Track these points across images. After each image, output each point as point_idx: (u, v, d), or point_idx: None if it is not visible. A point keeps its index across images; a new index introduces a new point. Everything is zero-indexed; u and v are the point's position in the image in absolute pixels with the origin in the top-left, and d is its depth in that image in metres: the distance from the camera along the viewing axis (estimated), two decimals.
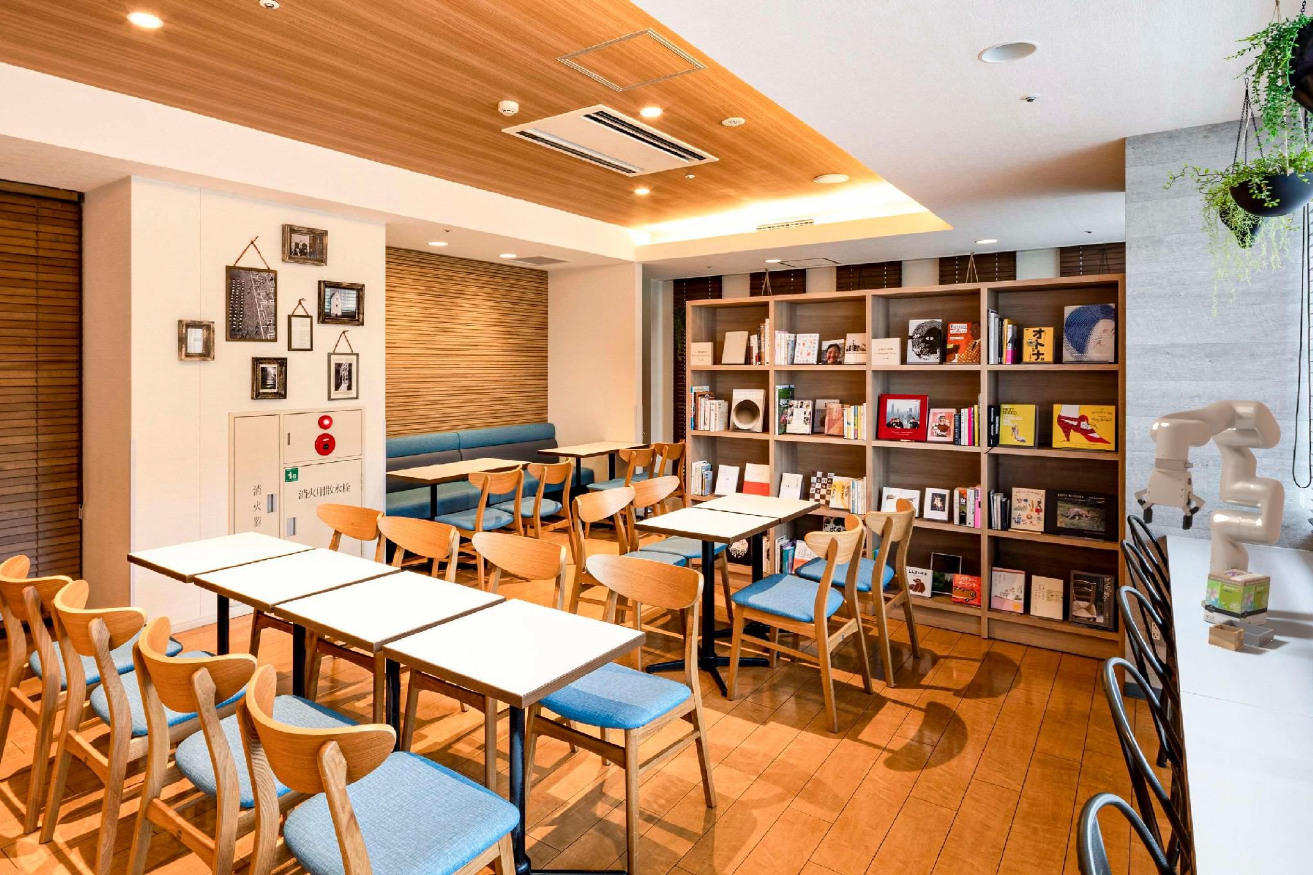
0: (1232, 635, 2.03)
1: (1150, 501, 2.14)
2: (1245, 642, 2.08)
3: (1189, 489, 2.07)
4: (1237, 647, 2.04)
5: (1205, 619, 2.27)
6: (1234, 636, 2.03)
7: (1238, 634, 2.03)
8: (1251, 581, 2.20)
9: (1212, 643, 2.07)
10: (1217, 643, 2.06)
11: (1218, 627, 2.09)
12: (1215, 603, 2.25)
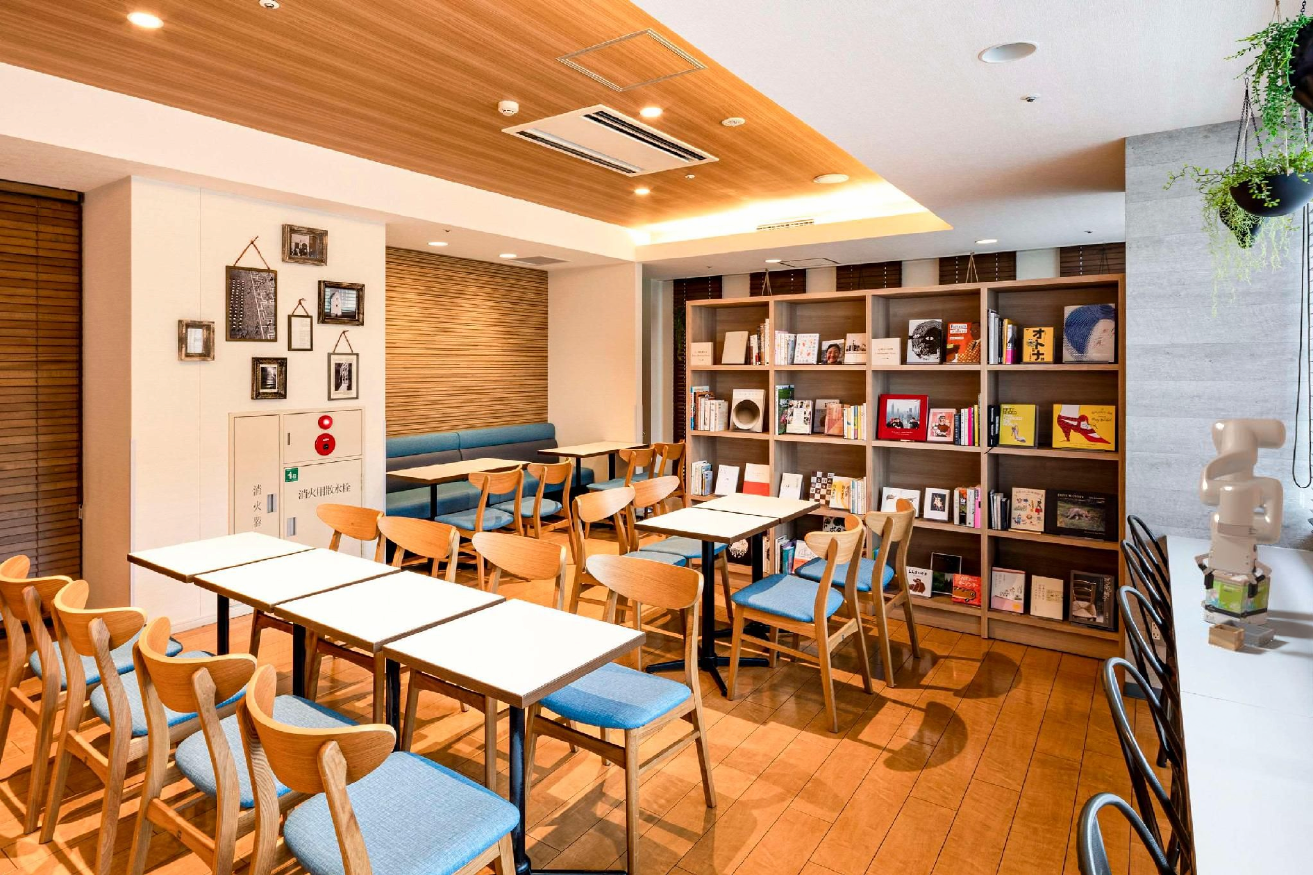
0: (1232, 635, 2.03)
1: (1212, 567, 2.07)
2: (1245, 642, 2.08)
3: (1254, 556, 2.00)
4: (1237, 647, 2.04)
5: (1205, 619, 2.27)
6: (1234, 636, 2.03)
7: (1238, 634, 2.03)
8: None
9: (1212, 643, 2.07)
10: (1217, 643, 2.06)
11: (1218, 627, 2.09)
12: (1215, 603, 2.25)
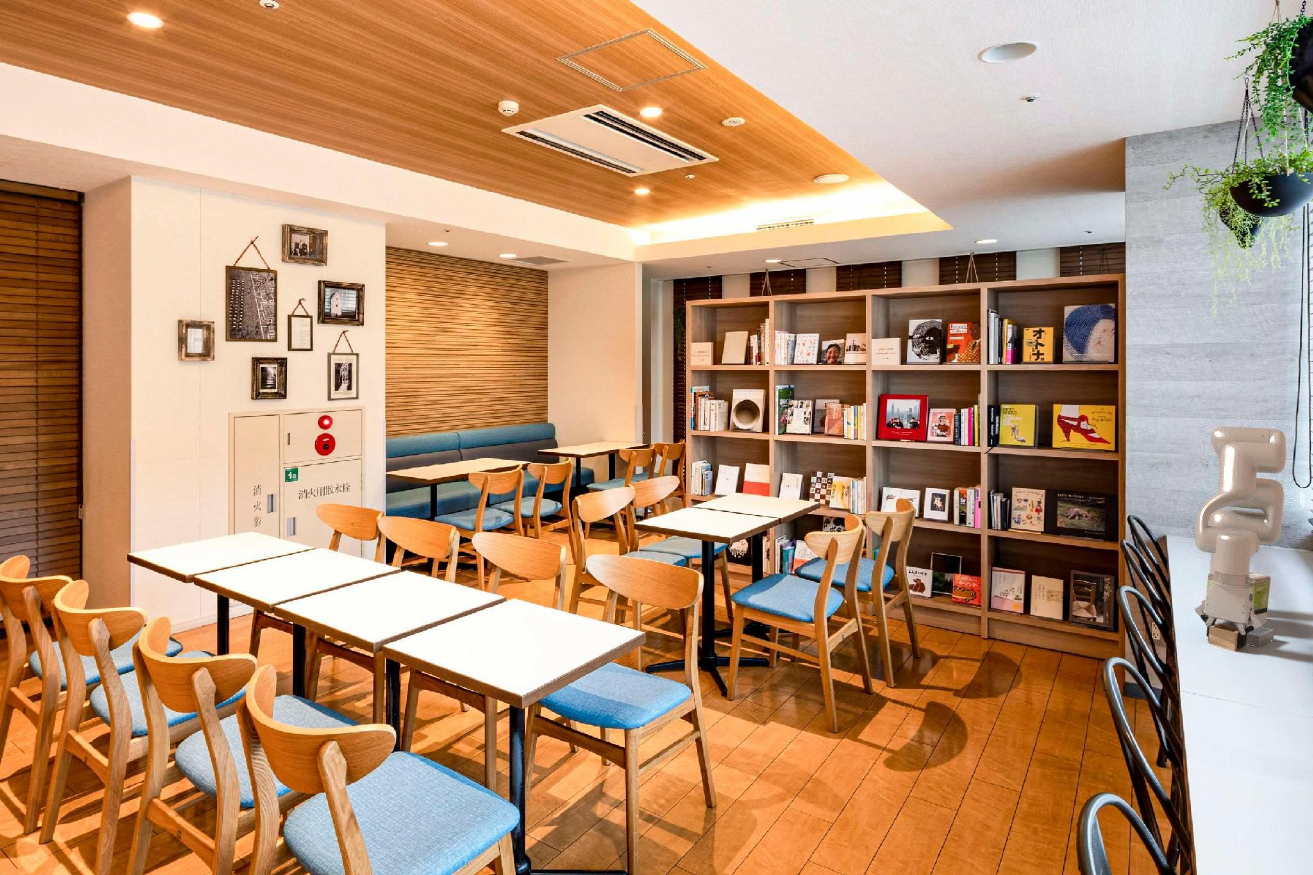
0: (1232, 635, 2.03)
1: (1208, 614, 2.08)
2: None
3: (1250, 605, 2.02)
4: None
5: None
6: (1234, 636, 2.02)
7: None
8: None
9: (1212, 643, 2.07)
10: (1217, 643, 2.06)
11: (1218, 627, 2.09)
12: None
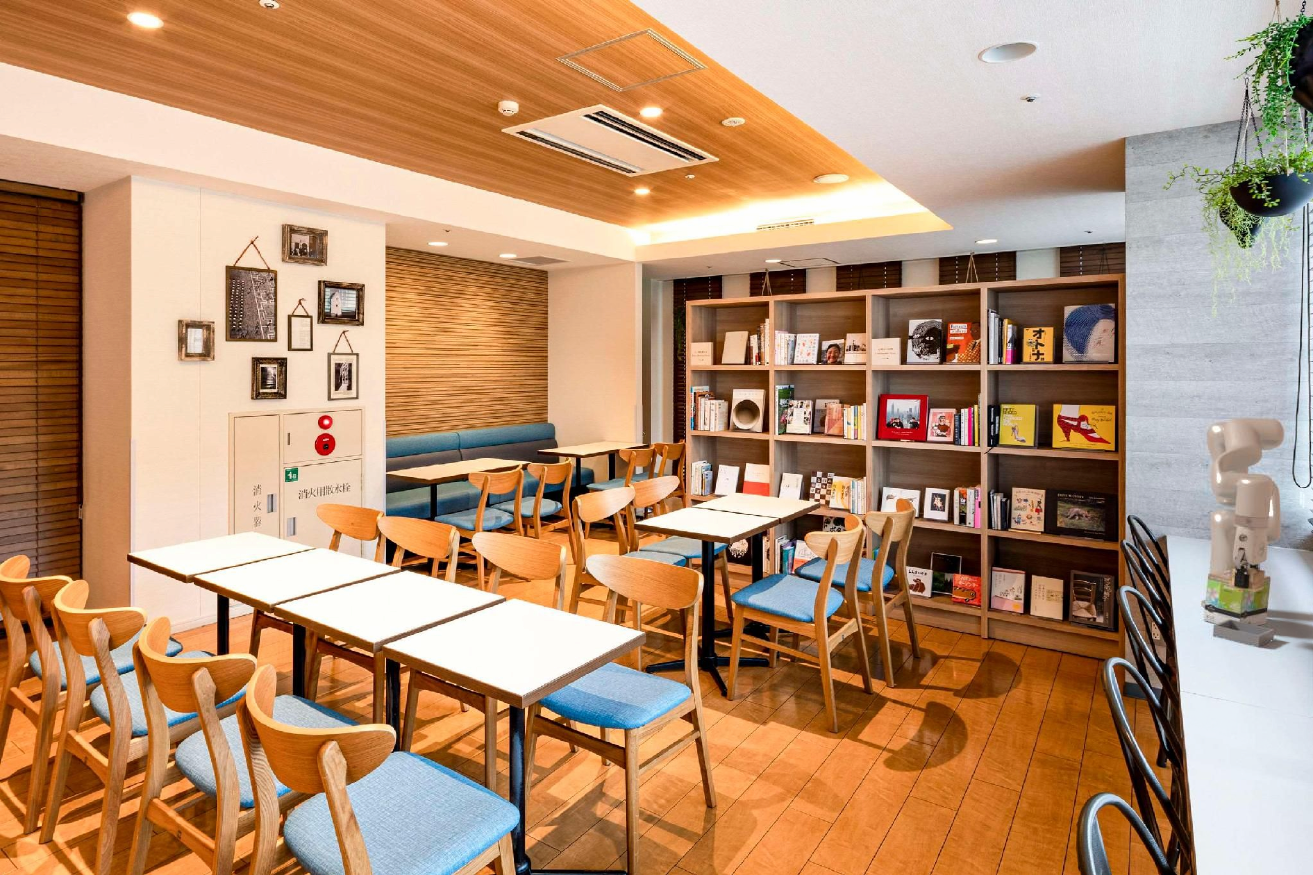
0: None
1: None
2: (1245, 642, 2.08)
3: (1241, 545, 2.08)
4: None
5: (1205, 619, 2.27)
6: (1230, 572, 2.13)
7: None
8: None
9: None
10: None
11: (1256, 572, 2.12)
12: (1215, 603, 2.25)
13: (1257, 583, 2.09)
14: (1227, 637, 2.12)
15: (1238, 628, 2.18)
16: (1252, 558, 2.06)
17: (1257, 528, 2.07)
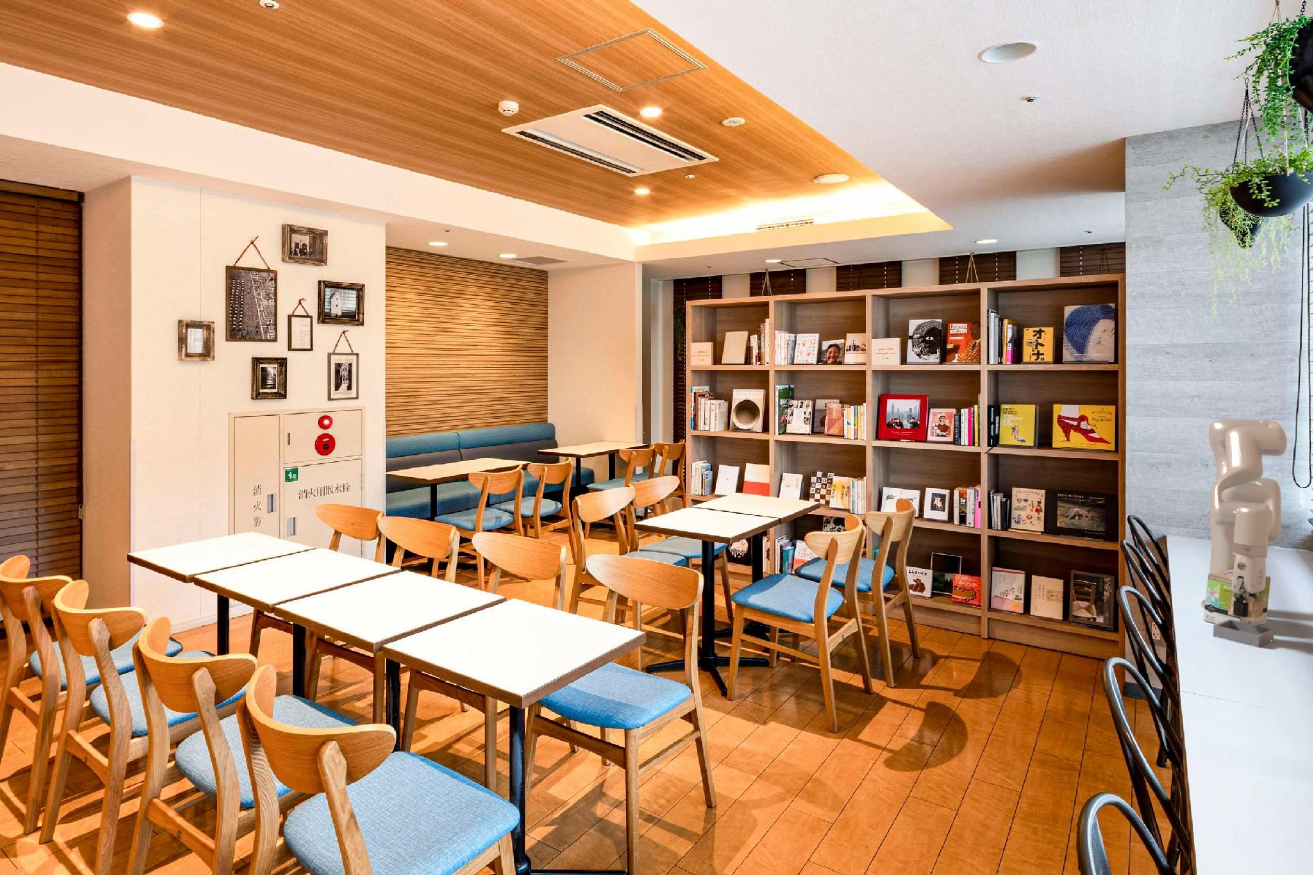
0: None
1: None
2: (1245, 642, 2.08)
3: (1240, 573, 2.09)
4: None
5: (1205, 619, 2.27)
6: (1229, 600, 2.13)
7: None
8: None
9: None
10: None
11: (1255, 600, 2.12)
12: (1215, 603, 2.25)
13: (1256, 611, 2.09)
14: (1227, 637, 2.12)
15: (1238, 628, 2.18)
16: (1251, 586, 2.07)
17: (1256, 557, 2.08)
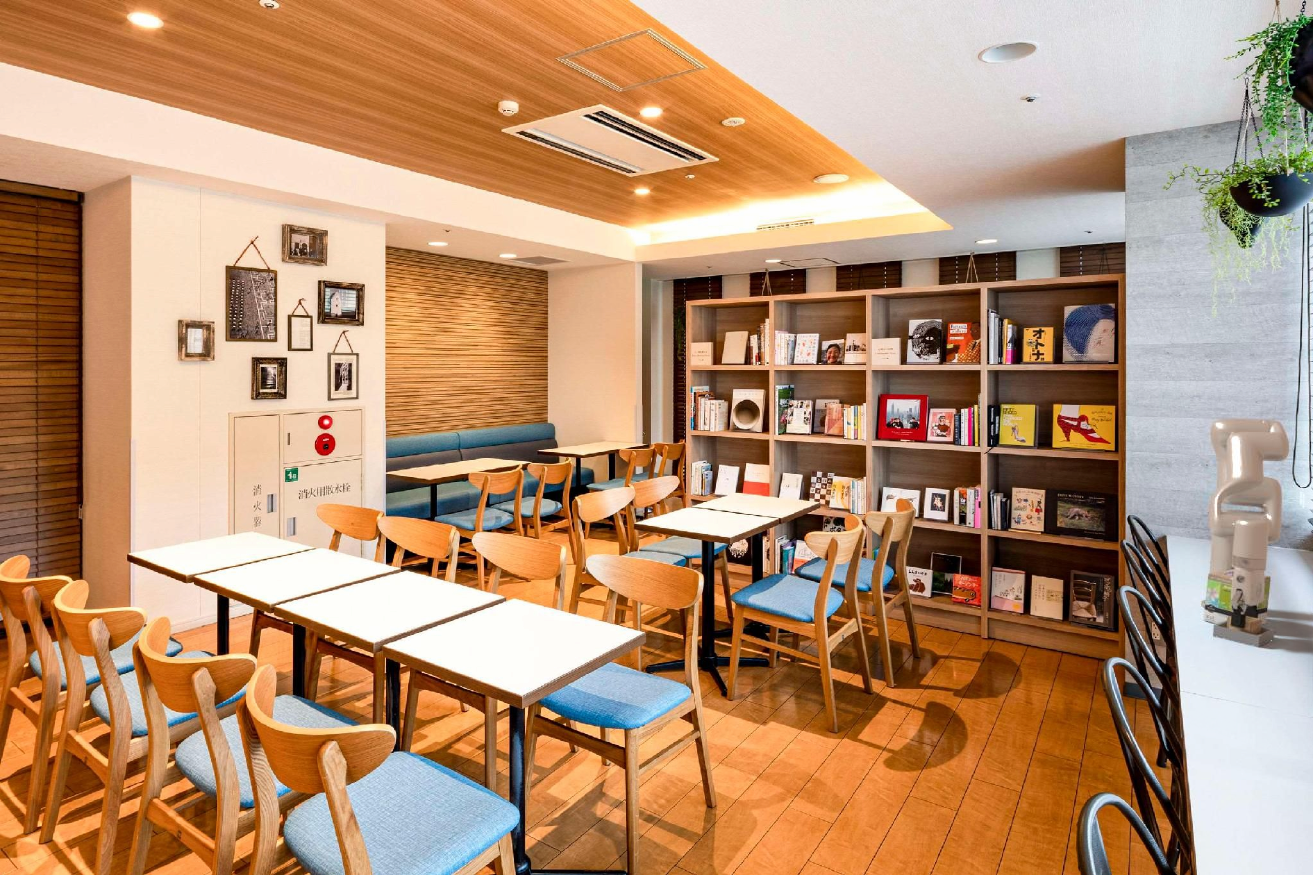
0: None
1: None
2: (1245, 642, 2.08)
3: (1238, 586, 2.09)
4: None
5: (1205, 619, 2.27)
6: (1227, 620, 2.14)
7: None
8: None
9: None
10: None
11: (1253, 620, 2.13)
12: (1215, 603, 2.25)
13: (1254, 632, 2.10)
14: (1227, 637, 2.12)
15: None
16: (1250, 599, 2.07)
17: (1254, 569, 2.08)
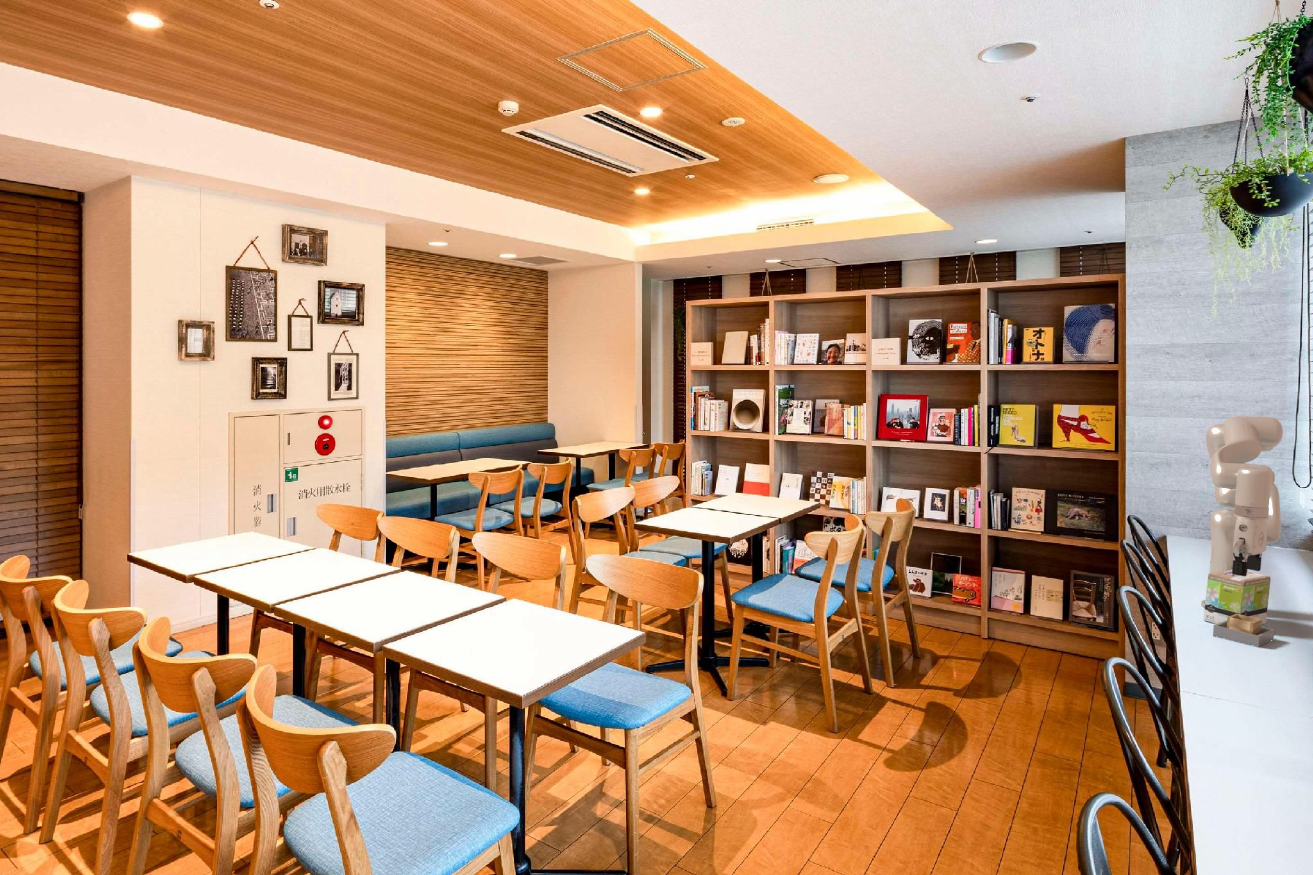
0: None
1: None
2: (1245, 642, 2.08)
3: (1241, 535, 2.09)
4: None
5: (1205, 619, 2.27)
6: (1227, 620, 2.14)
7: (1235, 621, 2.12)
8: (1251, 581, 2.20)
9: None
10: None
11: (1253, 620, 2.13)
12: (1215, 603, 2.25)
13: (1254, 632, 2.10)
14: (1227, 637, 2.12)
15: None
16: (1252, 548, 2.07)
17: (1257, 518, 2.07)
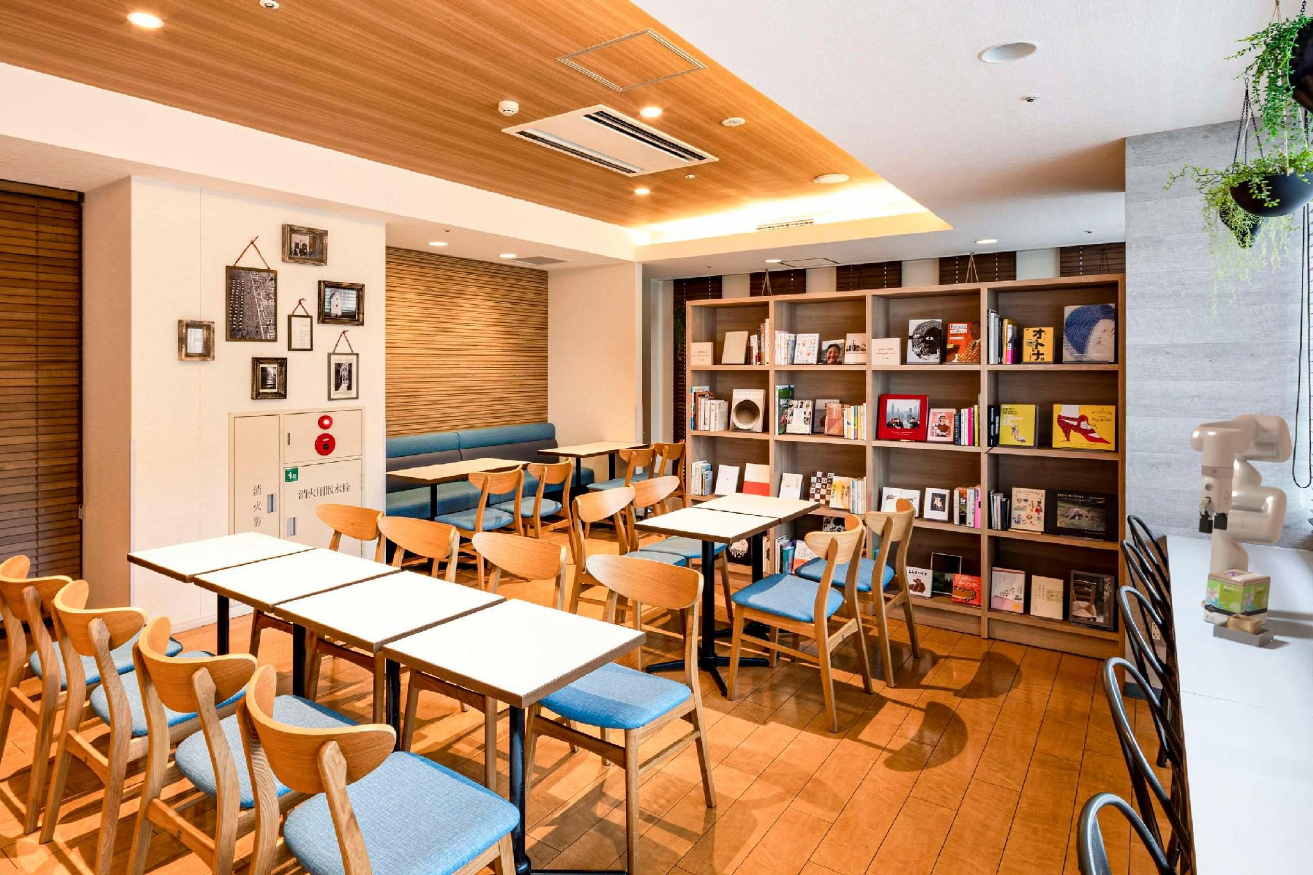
0: None
1: None
2: (1245, 642, 2.08)
3: (1207, 494, 2.17)
4: None
5: (1205, 619, 2.27)
6: (1227, 620, 2.14)
7: (1235, 621, 2.12)
8: (1251, 581, 2.20)
9: None
10: None
11: (1253, 620, 2.13)
12: (1215, 603, 2.25)
13: (1254, 632, 2.10)
14: (1227, 637, 2.12)
15: None
16: (1217, 506, 2.15)
17: (1222, 477, 2.16)
